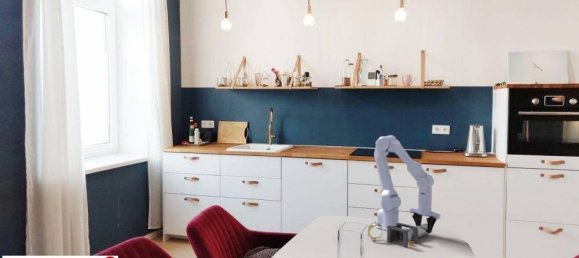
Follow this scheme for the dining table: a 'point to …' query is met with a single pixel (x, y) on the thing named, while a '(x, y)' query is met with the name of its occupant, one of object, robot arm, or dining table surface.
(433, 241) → the dining table surface
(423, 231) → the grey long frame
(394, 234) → the black bracket with roller
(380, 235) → the alarm clock
